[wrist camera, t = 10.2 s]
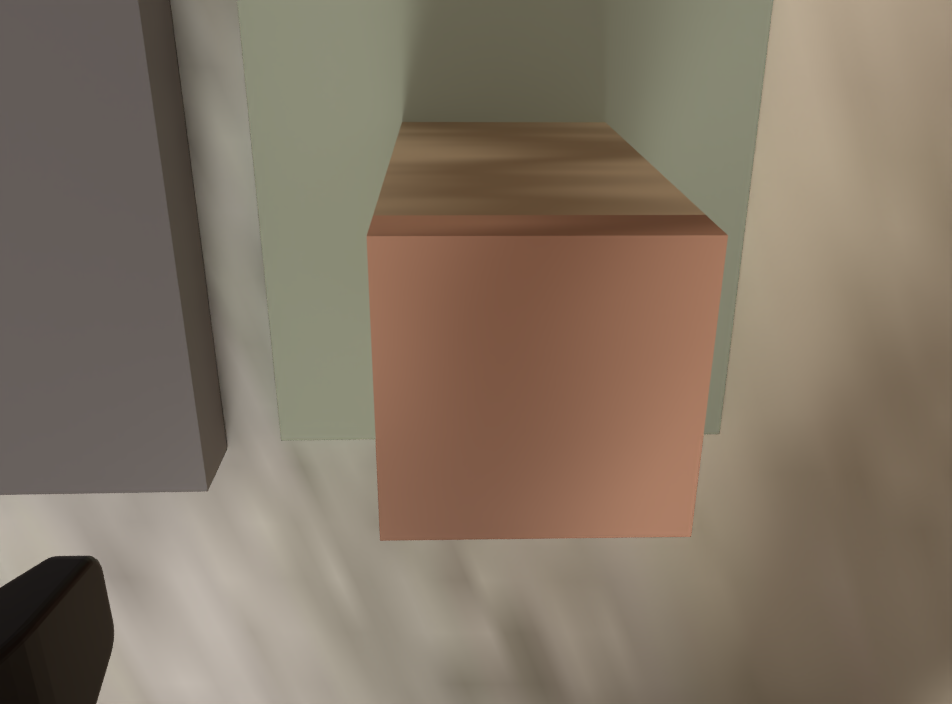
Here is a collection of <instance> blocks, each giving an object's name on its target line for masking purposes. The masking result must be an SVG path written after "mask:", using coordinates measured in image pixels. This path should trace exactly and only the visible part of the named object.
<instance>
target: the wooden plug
mask: <svg viewBox="0 0 952 704" xmlns="http://www.w3.org/2000/svg"><path fill="white" fill-rule="evenodd" d="M727 240H728V235H727V234H726V233H725V232H724V231H723V230H722V229H721V228H720V227H718V226H717V225H716V224H715V223H714V222H713V221H712V220H711V219H710V218H709V217H708V216H707V215H705V214H704V213H703V212H702V211H701V210H700V209H699V208H698V207H697V206H696V205H695V204H694V203H692V202H691V201H690V200H689V199H688V198H687V197H686V196H685V195H684V194H683V193H682V192H681V191H679V190H678V189H677V188H676V187H675V186H674V185H673V184H672V183H671V182H670V181H669V180H668V179H666V178H665V177H664V176H663V175H662V174H661V173H660V172H659V171H658V170H657V169H656V168H655V167H653V166H652V165H651V164H650V163H649V162H648V161H647V160H646V159H645V158H644V157H643V156H642V155H640V154H639V153H638V152H637V151H636V150H635V149H634V148H633V147H632V146H631V145H630V144H629V143H627V142H626V141H625V140H624V139H623V138H622V137H621V136H620V135H619V134H618V133H617V132H616V131H614V130H613V129H612V128H611V127H610V126H609V125H608V124H607V123H606V122H402V124H401V127H400V130H399V133H398V136H397V140H396V143H395V146H394V149H393V153H392V156H391V159H390V162H389V165H388V169H387V172H386V175H385V178H384V182H383V185H382V188H381V191H380V194H379V198H378V201H377V204H376V207H375V211H374V214H373V217H372V220H371V223H370V227H369V230H368V233H367V259H368V281H369V303H370V326H371V348H372V370H373V393H374V415H375V437H376V460H377V482H378V504H379V527H380V541H386V540H463V539H541V538H618V537H691V533H692V525H693V516H694V508H695V500H696V492H697V484H698V476H699V468H700V460H701V451H702V443H703V435H704V427H705V419H706V411H707V403H708V395H709V386H710V378H711V370H712V362H713V354H714V346H715V338H716V330H717V321H718V313H719V305H720V297H721V289H722V281H723V273H724V265H725V256H726V248H727Z"/></svg>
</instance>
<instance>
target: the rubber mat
mask: <svg viewBox="0 0 952 704" xmlns="http://www.w3.org/2000/svg"><path fill="white" fill-rule="evenodd" d="M237 6H238V16H239V26H240V36H241V46H242V56H243V66H244V76H245V86H246V96H247V106H248V116H249V126H250V136H251V146H252V156H253V166H254V176H255V186H256V196H257V206H258V216H259V226H260V236H261V246H262V256H263V265H264V275H265V285H266V295H267V305H268V315H269V325H270V335H271V345H272V355H273V365H274V375H275V385H276V395H277V405H278V415H279V425H280V435H281V441H289V440H356V439H376V437H375V415H374V393H373V370H372V348H371V326H370V303H369V281H368V259H367V233H368V230H369V227H370V223H371V220H372V217H373V214H374V211H375V207H376V204H377V201H378V198H379V194H380V191H381V188H382V185H383V182H384V178H385V175H386V172H387V169H388V165H389V162H390V159H391V156H392V153H393V149H394V146H395V143H396V140H397V136H398V133H399V130H400V127H401V124H402V122H606V123H607V124H608V125H609V126H610V127H611V128H612V129H613V130H614V131H616V132H617V133H618V134H619V135H620V136H621V137H622V138H623V139H624V140H625V141H626V142H627V143H629V144H630V145H631V146H632V147H633V148H634V149H635V150H636V151H637V152H638V153H639V154H640V155H642V156H643V157H644V158H645V159H646V160H647V161H648V162H649V163H650V164H651V165H652V166H653V167H655V168H656V169H657V170H658V171H659V172H660V173H661V174H662V175H663V176H664V177H665V178H666V179H668V180H669V181H670V182H671V183H672V184H673V185H674V186H675V187H676V188H677V189H678V190H679V191H681V192H682V193H683V194H684V195H685V196H686V197H687V198H688V199H689V200H690V201H691V202H692V203H694V204H695V205H696V206H697V207H698V208H699V209H700V210H701V211H702V212H703V213H704V214H705V215H707V216H708V217H709V218H710V219H711V220H712V221H713V222H714V223H715V224H716V225H717V226H718V227H720V228H721V229H722V230H723V231H724V232H725V233H726V234H727V235H728V240H727V248H726V256H725V265H724V273H723V281H722V289H721V297H720V305H719V313H718V321H717V330H716V338H715V346H714V354H713V362H712V370H711V378H710V386H709V395H708V403H707V411H706V419H705V427H704V434H719V433H720V425H721V417H722V409H723V401H724V393H725V385H726V377H727V368H728V360H729V352H730V344H731V336H732V328H733V320H734V312H735V304H736V296H737V288H738V280H739V272H740V264H741V256H742V248H743V240H744V232H745V224H746V216H747V208H748V200H749V192H750V183H751V175H752V167H753V159H754V151H755V143H756V135H757V127H758V119H759V111H760V103H761V95H762V87H763V79H764V71H765V63H766V55H767V47H768V39H769V31H770V23H771V15H772V6H773V0H237Z"/></svg>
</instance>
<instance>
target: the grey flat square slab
mask: <svg viewBox="0 0 952 704" xmlns="http://www.w3.org/2000/svg"><path fill="white" fill-rule="evenodd" d="M226 451H227V443H226V435H225V428H224V420H223V412H222V404H221V397H220V389H219V381H218V373H217V365H216V358H215V350H214V342H213V334H212V326H211V319H210V311H209V303H208V295H207V288H206V280H205V272H204V264H203V256H202V249H201V241H200V233H199V225H198V217H197V210H196V202H195V194H194V186H193V179H192V171H191V163H190V155H189V147H188V140H187V132H186V124H185V116H184V109H183V101H182V93H181V85H180V77H179V70H178V62H177V54H176V46H175V38H174V31H173V23H172V15H171V7H170V0H0V495H17V494H78V493H139V492H201V491H208V489H209V487H210V485H211V483H212V481H213V479H214V477H215V474H216V472H217V470H218V468H219V466H220V464H221V461H222V459H223V457H224V455H225V453H226Z"/></svg>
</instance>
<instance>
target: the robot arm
mask: <svg viewBox="0 0 952 704" xmlns="http://www.w3.org/2000/svg"><path fill="white" fill-rule="evenodd" d="M113 642H114V625H113V619H112V614H111V609H110V604H109V599H108V595H107V590H106V585H105V580H104V575H103V570H102V567H101V565H100V563H99V561H98V560H97V559H95V558H94V557H92V556H55V557H51V558H48V559H46V560H45V561H43V562H41V563H40V564H38V565H36V566H35V567H33V568H31V569H30V570H28V571H27V572H25V573H23V574H22V575H20V576H18V577H17V578H15V579H14V580H12V581H10V582H9V583H7V584H5V585H4V586H2V587H1V588H0V704H96V703H97V700H98V696H99V693H100V690H101V686H102V683H103V679H104V676H105V673H106V669H107V666H108V662H109V659H110V656H111V652H112V648H113Z"/></svg>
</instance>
